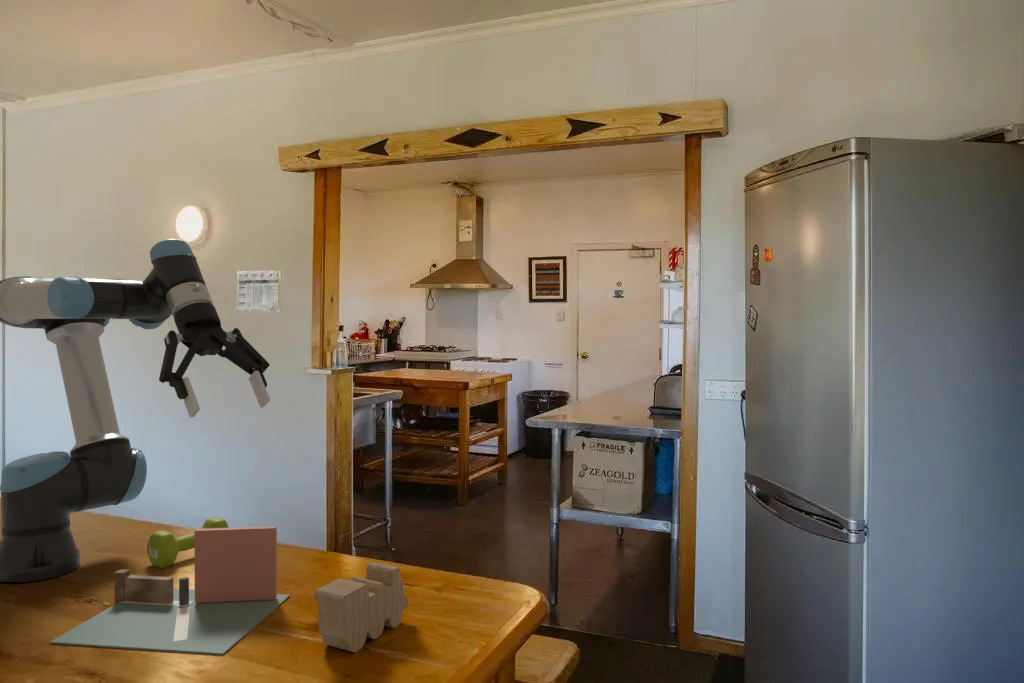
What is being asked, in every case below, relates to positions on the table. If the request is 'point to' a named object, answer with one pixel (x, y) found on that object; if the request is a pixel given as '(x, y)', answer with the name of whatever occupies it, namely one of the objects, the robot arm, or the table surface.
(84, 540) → the table surface
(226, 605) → the card
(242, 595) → the gate panel
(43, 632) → the table surface
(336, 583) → the toy train
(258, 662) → the table surface
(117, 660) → the table surface
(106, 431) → the robot arm
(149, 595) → the fence wall
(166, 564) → the dumbbell
